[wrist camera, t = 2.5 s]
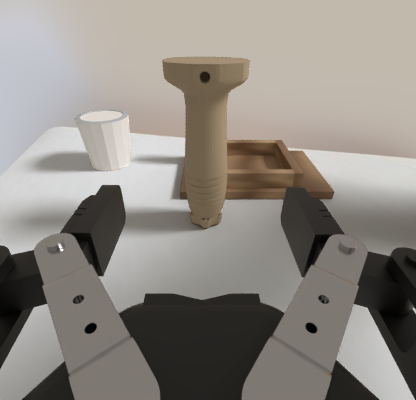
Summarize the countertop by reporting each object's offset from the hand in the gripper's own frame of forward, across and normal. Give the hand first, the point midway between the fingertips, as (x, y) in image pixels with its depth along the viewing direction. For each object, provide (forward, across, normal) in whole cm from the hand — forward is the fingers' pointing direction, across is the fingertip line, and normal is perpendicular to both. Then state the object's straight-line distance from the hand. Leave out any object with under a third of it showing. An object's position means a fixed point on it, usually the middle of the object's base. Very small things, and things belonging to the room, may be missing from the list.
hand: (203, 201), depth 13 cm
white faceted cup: (+26, +14, +10) cm, 31 cm away
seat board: (+21, -6, +10) cm, 24 cm away
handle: (+11, 0, +10) cm, 15 cm away
